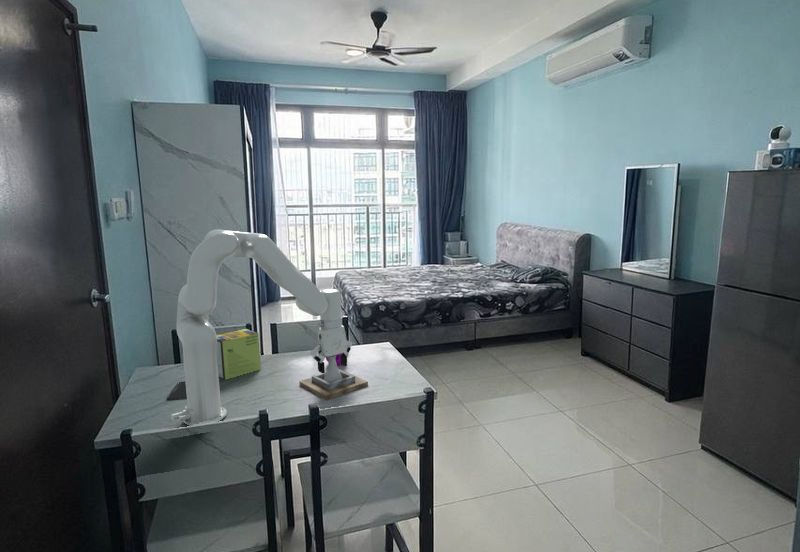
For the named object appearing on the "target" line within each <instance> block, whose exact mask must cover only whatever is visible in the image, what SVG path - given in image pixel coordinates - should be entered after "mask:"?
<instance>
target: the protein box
mask: <svg viewBox="0 0 800 552" xmlns="http://www.w3.org/2000/svg"><path fill="white" fill-rule="evenodd" d="M216 335H217V365H218V377H219V378H220V379H222V380H225V381H227V380H230V378H231V379H234V378H236V377H237V376H238V377H241V376H244V375H243V374H245V375H247V373H248V374H251V373H254V372H253V371H255V372H258V371H261V370H262V367H261V366H262V365H261V354H260V353H261V352H260V337H259V332H256V331H253V330H250V329H248V328H243V329H239V330H234V331H230V332H225V333H222V334H216ZM260 369H261V370H260ZM257 370H258V371H257ZM250 372H251V373H250ZM240 375H241V376H240Z"/></svg>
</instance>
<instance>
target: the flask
mask: <svg viewBox="0 0 800 552" xmlns="http://www.w3.org/2000/svg"><path fill="white" fill-rule="evenodd" d="M335 357H336V355H334V356H330V357H328V361H329V362H328V361H327V362H328V363H327V369H326V370H325V372H326V374H325V377H324V380H325V381H327V382H329V383H331V382H334V381H337V380H340V379H342V376H341V374H340V372H339V369H340V368H339V367H338V365H337V364H336V358H335Z"/></svg>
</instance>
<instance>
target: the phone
mask: <svg viewBox="0 0 800 552" xmlns="http://www.w3.org/2000/svg"><path fill="white" fill-rule="evenodd" d="M178 383H179V384H178ZM179 398H187V394H186V383H185V381H179V382H177V383H176V384H175V386H174V387H173V388H172V389H171V391H170V392H169V393H168V395H167V396H166V400H167V399H175V400H177V399H179Z"/></svg>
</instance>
